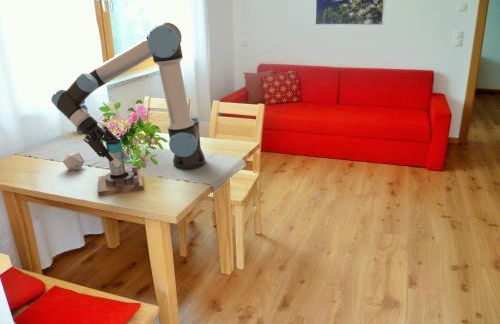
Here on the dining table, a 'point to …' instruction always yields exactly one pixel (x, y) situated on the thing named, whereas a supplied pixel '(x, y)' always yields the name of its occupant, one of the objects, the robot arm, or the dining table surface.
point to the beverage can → (116, 150)
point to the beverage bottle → (85, 109)
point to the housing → (120, 183)
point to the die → (73, 161)
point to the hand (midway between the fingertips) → (123, 162)
